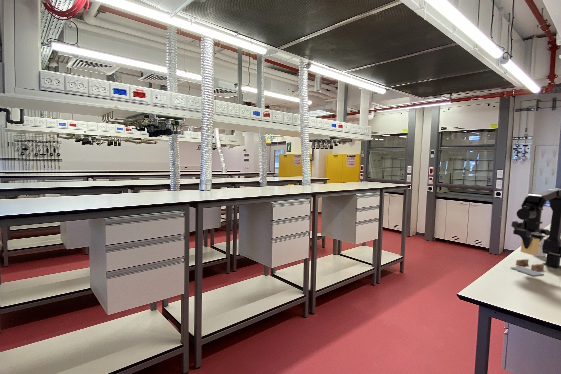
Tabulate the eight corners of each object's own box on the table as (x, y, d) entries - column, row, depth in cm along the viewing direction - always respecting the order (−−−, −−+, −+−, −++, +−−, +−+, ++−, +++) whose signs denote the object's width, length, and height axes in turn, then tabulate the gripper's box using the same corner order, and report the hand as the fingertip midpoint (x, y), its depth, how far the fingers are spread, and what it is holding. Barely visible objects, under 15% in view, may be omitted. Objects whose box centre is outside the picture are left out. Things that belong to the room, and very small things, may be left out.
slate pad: (520, 267, 162) (521, 266, 162) (543, 275, 152) (544, 273, 152) (510, 268, 160) (510, 267, 160) (533, 276, 149) (533, 275, 149)
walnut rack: (526, 264, 168) (526, 258, 168) (543, 269, 160) (544, 264, 160) (515, 265, 166) (516, 259, 165) (532, 270, 158) (533, 265, 157)
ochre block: (527, 251, 158) (529, 236, 157) (537, 254, 153) (539, 239, 153) (520, 251, 157) (522, 236, 156) (531, 254, 152) (532, 239, 151)
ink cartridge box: (528, 252, 192) (531, 229, 191) (537, 253, 191) (540, 230, 190) (536, 256, 184) (539, 233, 183) (546, 257, 183) (549, 233, 182)
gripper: (528, 215, 164) (525, 242, 165) (504, 216, 158) (501, 244, 160) (552, 219, 153) (548, 249, 155) (527, 220, 147) (523, 251, 149)
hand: (529, 248), depth 155 cm, fingers closed on ochre block, 5 cm apart
